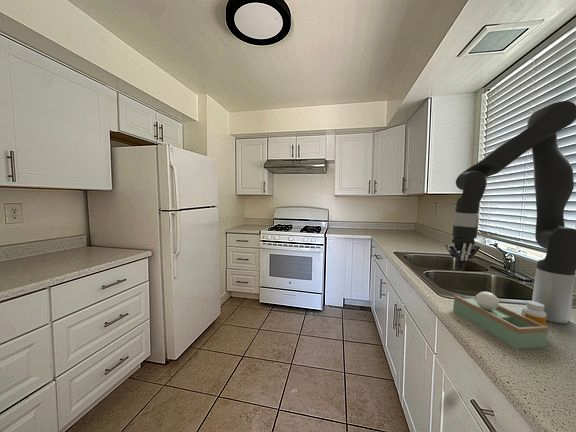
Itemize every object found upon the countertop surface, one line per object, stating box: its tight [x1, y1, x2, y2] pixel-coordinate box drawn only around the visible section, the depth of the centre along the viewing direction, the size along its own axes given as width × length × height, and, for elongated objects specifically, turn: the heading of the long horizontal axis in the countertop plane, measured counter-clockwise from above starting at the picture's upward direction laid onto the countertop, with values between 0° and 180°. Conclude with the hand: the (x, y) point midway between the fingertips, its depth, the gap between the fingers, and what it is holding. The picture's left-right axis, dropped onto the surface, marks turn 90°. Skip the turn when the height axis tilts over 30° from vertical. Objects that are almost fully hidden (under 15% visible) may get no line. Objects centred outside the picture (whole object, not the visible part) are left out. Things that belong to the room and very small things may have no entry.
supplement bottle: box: [521, 300, 547, 326], centre depth 76 cm, size 5×5×10 cm
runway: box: [452, 294, 549, 350], centre depth 78 cm, size 10×22×6 cm, turn 8°
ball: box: [476, 291, 500, 310], centre depth 81 cm, size 6×6×6 cm
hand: (460, 269), depth 92 cm, fingers closed
